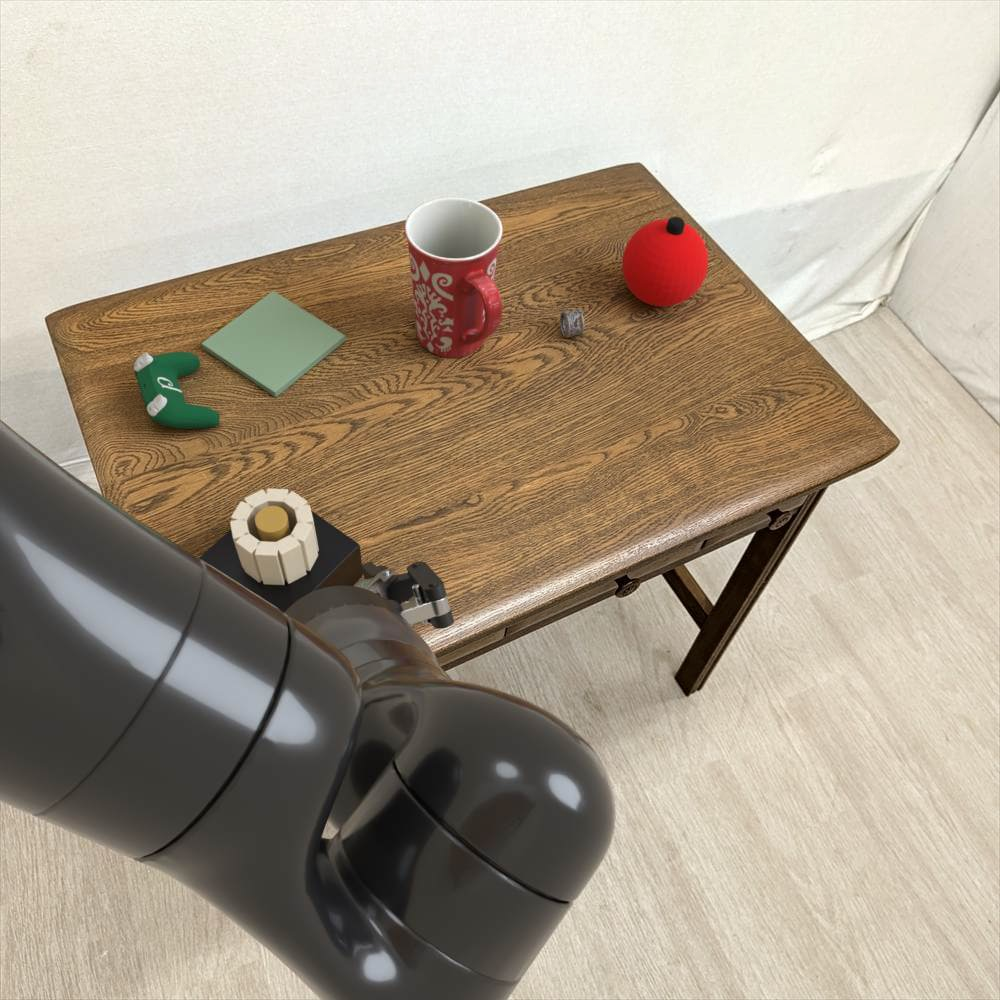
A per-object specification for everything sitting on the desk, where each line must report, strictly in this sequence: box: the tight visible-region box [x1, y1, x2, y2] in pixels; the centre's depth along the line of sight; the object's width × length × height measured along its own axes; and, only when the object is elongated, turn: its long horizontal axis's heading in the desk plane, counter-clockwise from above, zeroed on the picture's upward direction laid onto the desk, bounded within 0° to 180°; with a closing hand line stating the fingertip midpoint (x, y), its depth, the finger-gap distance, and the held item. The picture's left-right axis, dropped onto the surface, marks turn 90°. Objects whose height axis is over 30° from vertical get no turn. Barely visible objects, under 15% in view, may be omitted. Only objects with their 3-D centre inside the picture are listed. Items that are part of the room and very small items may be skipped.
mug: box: [404, 196, 504, 359], centre depth 87 cm, size 13×9×14 cm
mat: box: [201, 290, 346, 398], centre depth 90 cm, size 10×10×1 cm
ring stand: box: [198, 486, 364, 612], centre depth 71 cm, size 9×9×10 cm
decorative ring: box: [559, 308, 585, 339], centre depth 93 cm, size 3×2×3 cm
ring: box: [229, 487, 319, 585], centre depth 70 cm, size 6×6×4 cm
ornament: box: [621, 216, 709, 308], centre depth 95 cm, size 9×9×10 cm
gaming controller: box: [133, 351, 221, 430], centre depth 84 cm, size 9×4×6 cm
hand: (306, 599), depth 58 cm, fingers open, 8 cm apart
